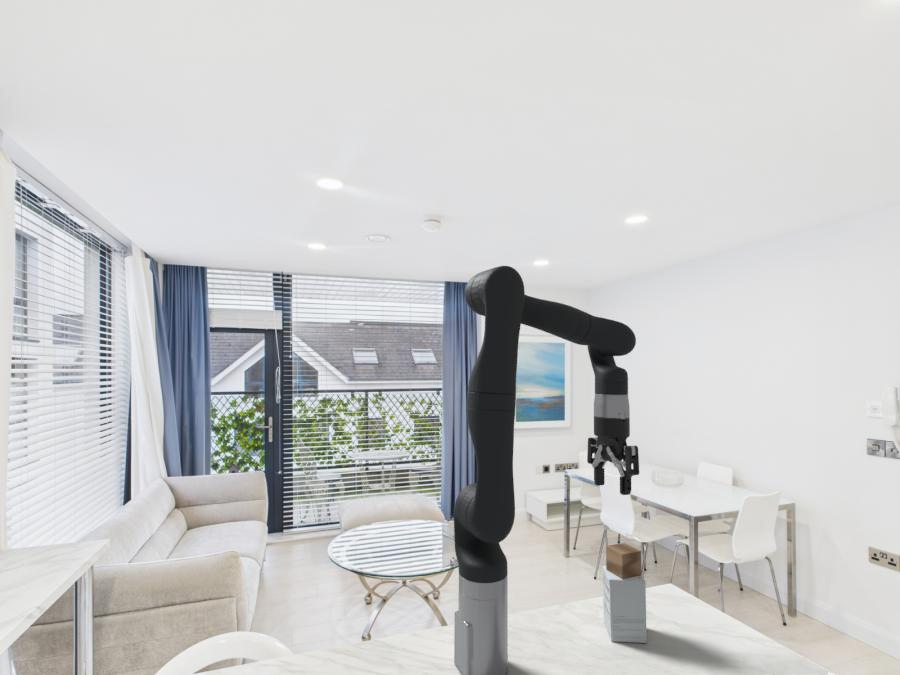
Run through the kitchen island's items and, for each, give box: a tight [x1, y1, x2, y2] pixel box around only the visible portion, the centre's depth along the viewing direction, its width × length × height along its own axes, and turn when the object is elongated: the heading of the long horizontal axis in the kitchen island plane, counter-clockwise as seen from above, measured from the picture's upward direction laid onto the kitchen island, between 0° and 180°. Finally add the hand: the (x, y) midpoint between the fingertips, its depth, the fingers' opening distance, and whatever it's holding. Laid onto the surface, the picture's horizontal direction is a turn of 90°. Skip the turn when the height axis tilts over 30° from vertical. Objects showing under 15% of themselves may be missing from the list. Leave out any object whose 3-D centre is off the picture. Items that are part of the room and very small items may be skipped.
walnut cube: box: [605, 542, 643, 579], centre depth 105 cm, size 5×5×5 cm
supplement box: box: [602, 565, 648, 644], centre depth 105 cm, size 7×7×13 cm
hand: (611, 489), depth 108 cm, fingers open, 8 cm apart
